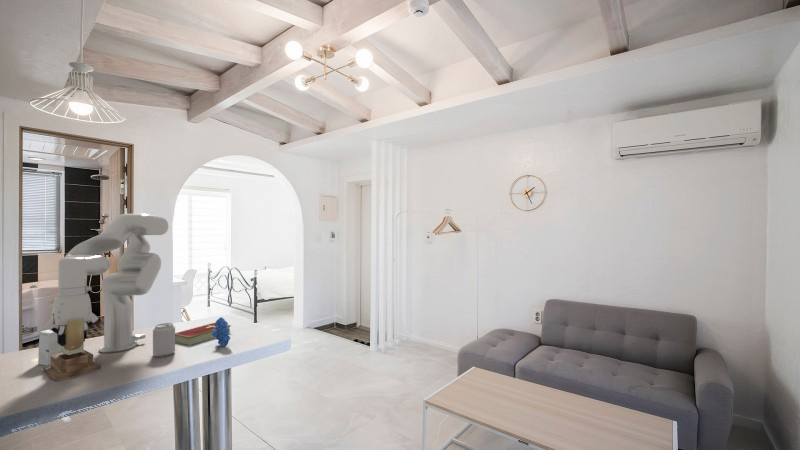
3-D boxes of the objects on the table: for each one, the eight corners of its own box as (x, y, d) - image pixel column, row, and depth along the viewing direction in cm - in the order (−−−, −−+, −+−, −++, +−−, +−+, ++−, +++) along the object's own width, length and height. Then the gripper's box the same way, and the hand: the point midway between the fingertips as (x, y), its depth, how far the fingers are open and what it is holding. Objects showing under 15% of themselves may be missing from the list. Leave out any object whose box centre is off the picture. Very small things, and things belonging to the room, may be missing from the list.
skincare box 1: (37, 364, 135) (37, 331, 135) (52, 360, 139) (52, 328, 139) (48, 366, 133) (48, 333, 133) (62, 361, 137) (63, 329, 137)
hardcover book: (172, 342, 162) (172, 333, 162) (214, 330, 181) (214, 321, 181) (189, 346, 157) (189, 336, 157) (230, 333, 176) (230, 324, 176)
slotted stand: (86, 361, 138) (86, 346, 138) (100, 369, 130) (100, 354, 130) (42, 371, 128) (43, 356, 128) (55, 381, 120) (55, 364, 120)
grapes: (206, 345, 157) (206, 317, 157) (222, 341, 162) (222, 314, 162) (217, 351, 149) (217, 322, 150) (233, 347, 155) (233, 319, 155)
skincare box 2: (59, 352, 128) (59, 318, 128) (74, 349, 132) (75, 315, 132) (69, 355, 126) (69, 320, 126) (84, 351, 130) (84, 317, 130)
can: (179, 352, 148) (179, 323, 148) (160, 358, 141) (160, 327, 141) (167, 350, 151) (167, 321, 151) (148, 355, 144) (148, 325, 144)
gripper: (98, 287, 138) (97, 335, 138) (36, 294, 124) (36, 347, 124) (106, 289, 134) (105, 338, 134) (43, 296, 120) (42, 352, 120)
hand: (72, 342), depth 129 cm, fingers closed on skincare box 2, 4 cm apart
